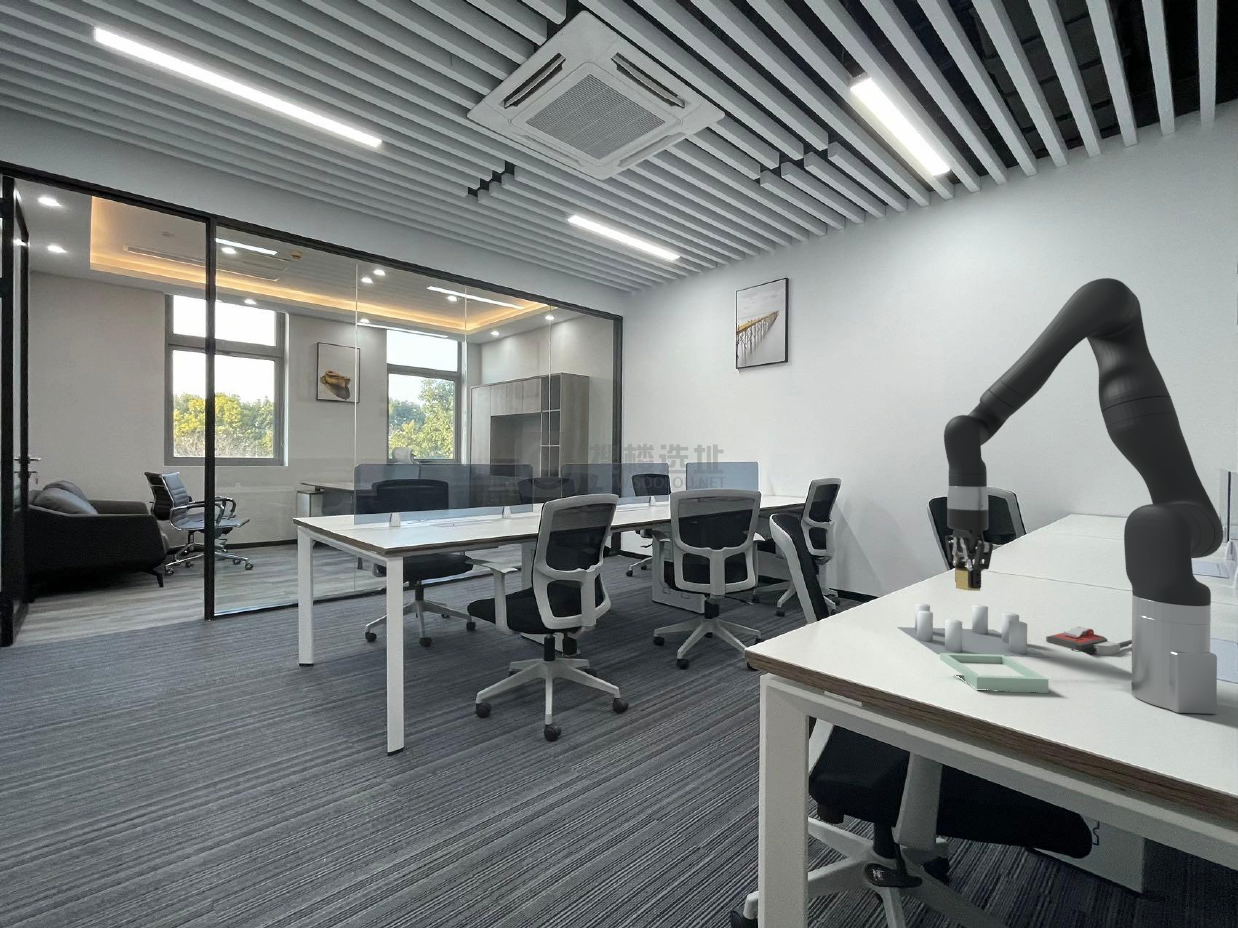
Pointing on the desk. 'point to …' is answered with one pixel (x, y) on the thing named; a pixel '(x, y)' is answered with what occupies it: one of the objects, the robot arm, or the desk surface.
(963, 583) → the khaki cube
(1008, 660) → the tray
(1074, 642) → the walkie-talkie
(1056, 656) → the desk surface
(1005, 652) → the grey pegged base
